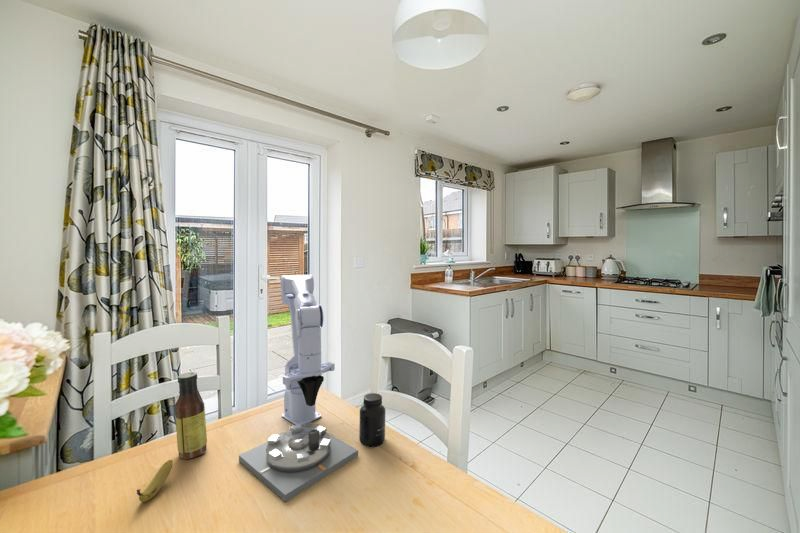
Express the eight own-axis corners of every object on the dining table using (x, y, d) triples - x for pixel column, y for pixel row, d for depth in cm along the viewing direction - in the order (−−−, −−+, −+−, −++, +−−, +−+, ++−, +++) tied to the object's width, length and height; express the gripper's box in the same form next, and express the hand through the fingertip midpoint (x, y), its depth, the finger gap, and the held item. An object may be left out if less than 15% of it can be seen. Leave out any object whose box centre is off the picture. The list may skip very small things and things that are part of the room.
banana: (166, 475, 78) (165, 458, 77) (177, 475, 78) (176, 458, 77) (131, 510, 67) (131, 490, 67) (144, 510, 67) (143, 490, 67)
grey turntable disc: (253, 455, 82) (252, 427, 82) (305, 428, 94) (304, 404, 94) (292, 481, 73) (291, 450, 73) (343, 448, 85) (343, 421, 85)
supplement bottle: (384, 448, 88) (384, 403, 88) (357, 448, 89) (357, 402, 88) (386, 433, 95) (386, 391, 94) (361, 433, 95) (361, 391, 95)
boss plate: (239, 461, 83) (238, 454, 83) (309, 427, 98) (309, 421, 98) (285, 502, 70) (285, 494, 70) (358, 455, 85) (358, 449, 85)
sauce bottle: (212, 446, 89) (210, 370, 87) (195, 461, 82) (193, 380, 81) (188, 444, 89) (186, 369, 88) (170, 459, 83) (167, 378, 82)
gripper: (293, 362, 81) (294, 419, 82) (341, 349, 92) (342, 399, 93) (277, 356, 86) (278, 410, 86) (325, 344, 97) (325, 392, 97)
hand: (310, 404), depth 90 cm, fingers closed
